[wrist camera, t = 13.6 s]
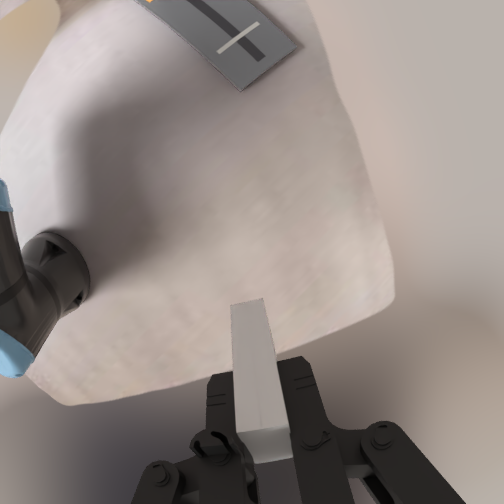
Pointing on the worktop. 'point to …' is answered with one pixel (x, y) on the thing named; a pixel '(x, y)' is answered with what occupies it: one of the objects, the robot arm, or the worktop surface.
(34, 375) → the worktop surface
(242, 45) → the fader console
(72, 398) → the worktop surface
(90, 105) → the worktop surface
